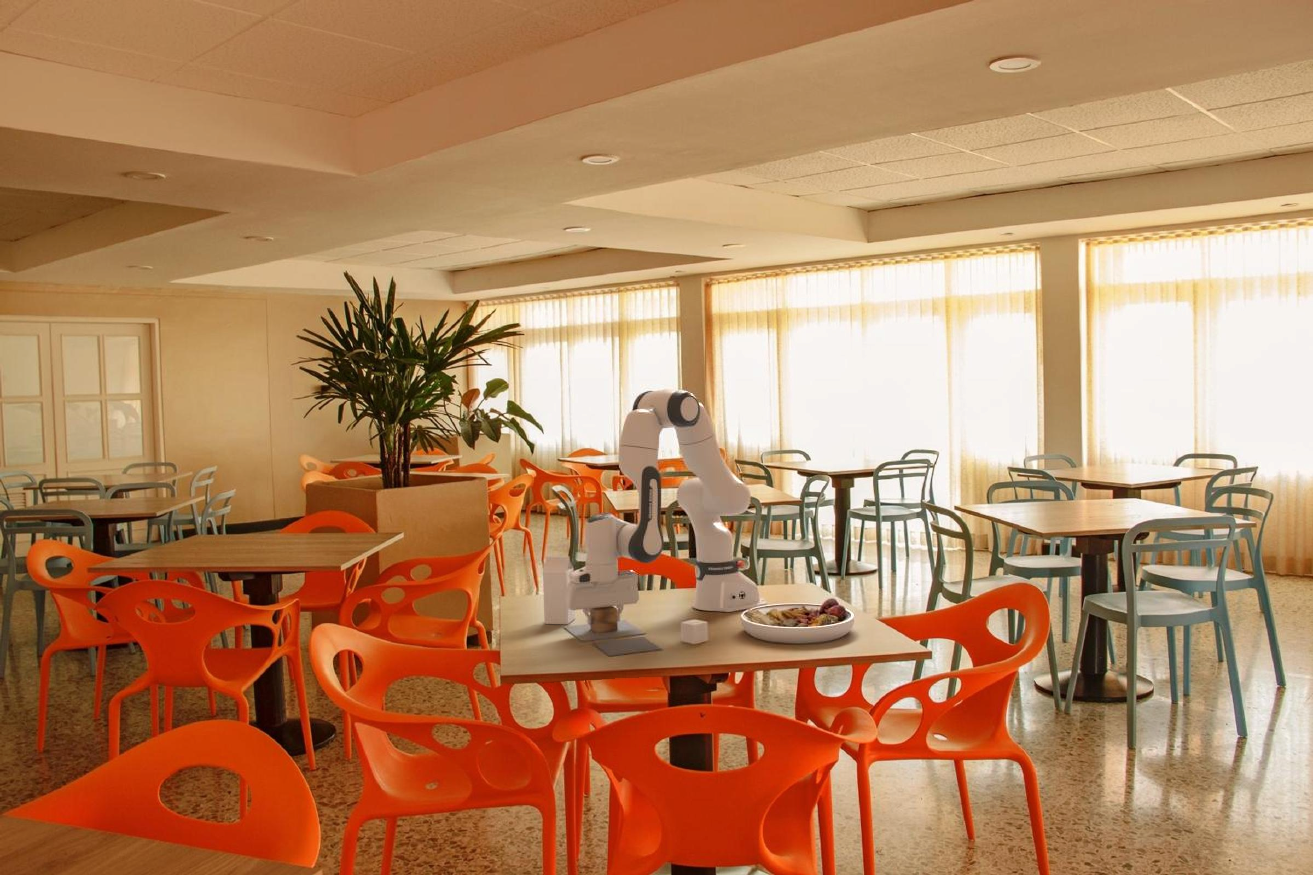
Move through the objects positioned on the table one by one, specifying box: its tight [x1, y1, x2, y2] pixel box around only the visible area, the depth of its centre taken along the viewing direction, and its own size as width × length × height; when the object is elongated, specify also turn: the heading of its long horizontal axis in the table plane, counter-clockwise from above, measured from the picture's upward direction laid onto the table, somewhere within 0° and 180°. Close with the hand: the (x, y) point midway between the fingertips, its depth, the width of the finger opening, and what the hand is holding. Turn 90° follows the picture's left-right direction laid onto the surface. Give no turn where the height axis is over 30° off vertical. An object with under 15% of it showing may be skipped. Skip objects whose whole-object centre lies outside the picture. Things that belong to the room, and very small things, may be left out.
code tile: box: [563, 619, 646, 643], centre depth 276 cm, size 18×18×1 cm
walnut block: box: [589, 606, 618, 633], centre depth 276 cm, size 6×6×6 cm
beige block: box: [680, 618, 709, 645], centre depth 262 cm, size 5×5×5 cm
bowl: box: [740, 598, 855, 645], centre depth 268 cm, size 30×30×8 cm
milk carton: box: [542, 556, 576, 625], centre depth 289 cm, size 7×7×19 cm
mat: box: [592, 636, 663, 657], centre depth 258 cm, size 14×14×1 cm
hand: (603, 622), depth 276 cm, fingers closed on walnut block, 6 cm apart
